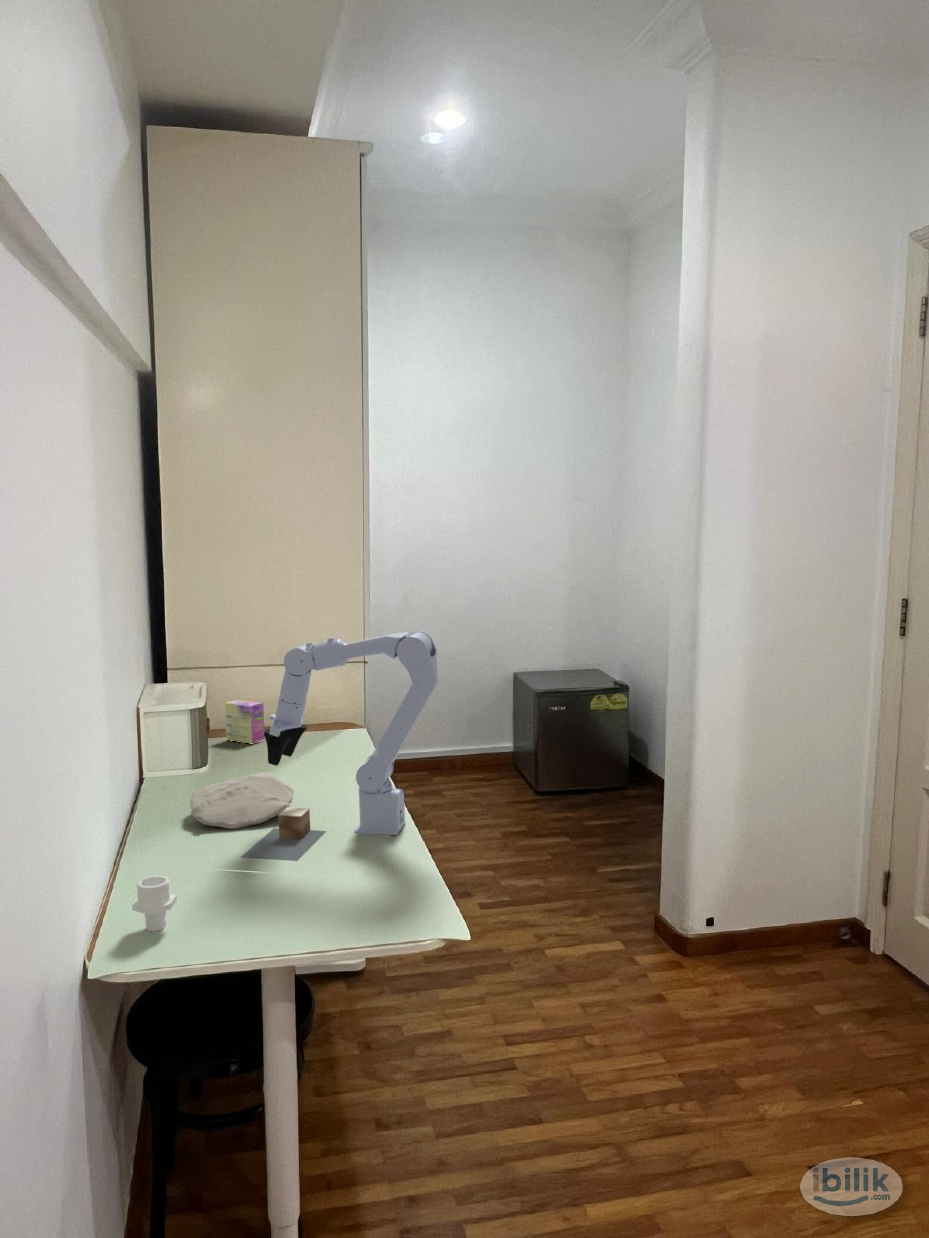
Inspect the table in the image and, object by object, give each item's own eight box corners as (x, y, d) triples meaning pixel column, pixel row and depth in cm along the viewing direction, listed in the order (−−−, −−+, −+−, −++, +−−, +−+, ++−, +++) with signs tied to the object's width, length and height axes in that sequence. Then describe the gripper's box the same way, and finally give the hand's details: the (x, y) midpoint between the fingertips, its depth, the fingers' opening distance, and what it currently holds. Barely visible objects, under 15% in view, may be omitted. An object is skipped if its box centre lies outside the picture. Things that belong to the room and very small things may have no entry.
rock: (304, 787, 234) (288, 839, 204) (209, 790, 232) (180, 843, 203) (302, 757, 232) (286, 805, 203) (207, 761, 231) (177, 809, 202)
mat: (326, 832, 202) (326, 830, 202) (297, 861, 185) (297, 860, 185) (274, 829, 204) (273, 828, 204) (240, 858, 187) (240, 857, 187)
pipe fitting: (182, 929, 156) (179, 883, 156) (137, 939, 153) (134, 892, 152) (173, 915, 162) (170, 870, 161) (130, 924, 158) (127, 879, 157)
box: (265, 740, 281) (263, 702, 280) (252, 745, 277) (250, 705, 275) (239, 737, 287) (237, 699, 285) (226, 741, 282) (224, 702, 280)
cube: (310, 830, 202) (309, 808, 201) (301, 839, 197) (300, 815, 196) (288, 829, 203) (287, 807, 202) (279, 837, 198) (278, 814, 197)
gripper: (287, 689, 210) (276, 746, 212) (261, 701, 196) (249, 763, 198) (317, 697, 209) (305, 755, 211) (292, 710, 195) (280, 772, 197)
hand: (279, 759), depth 204 cm, fingers open, 7 cm apart
